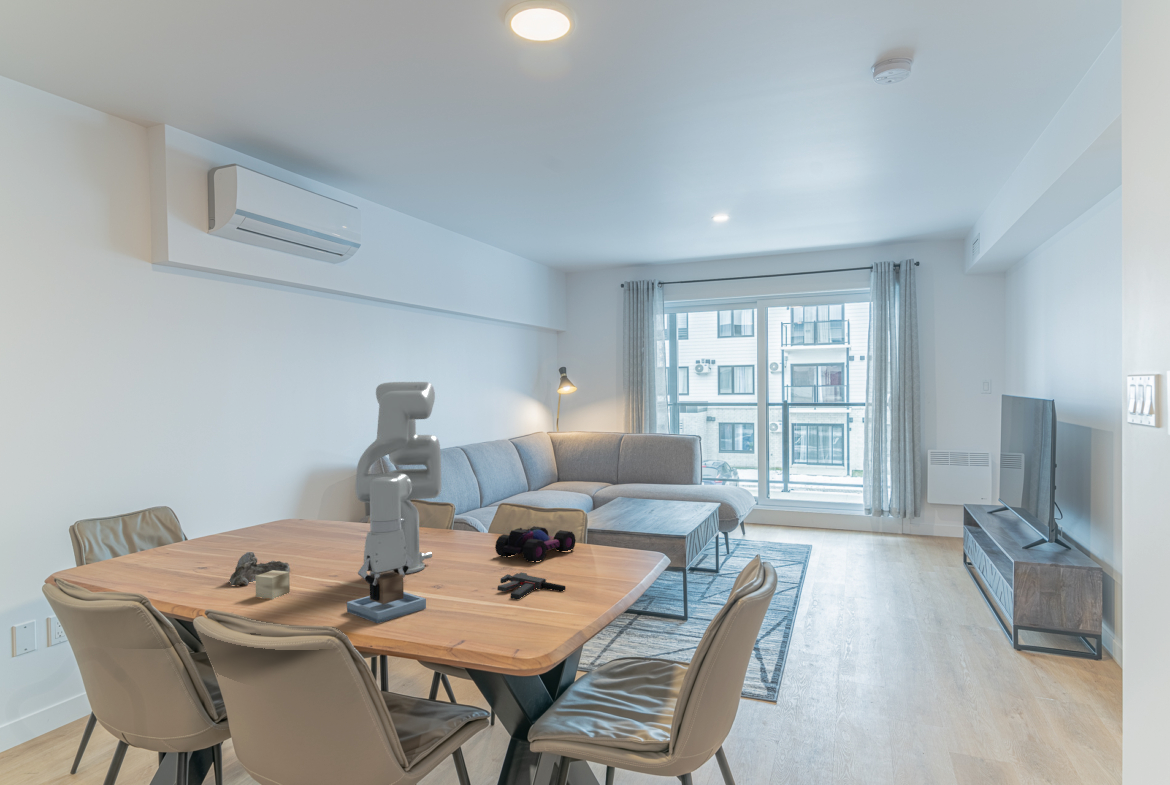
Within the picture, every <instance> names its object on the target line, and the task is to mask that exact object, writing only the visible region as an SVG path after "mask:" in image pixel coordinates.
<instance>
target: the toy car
mask: <svg viewBox="0 0 1170 785" xmlns="http://www.w3.org/2000/svg"><path fill="white" fill-rule="evenodd" d="M575 546H576V536H575V534H574V532H573V531H568V530H558V531H557V532H556V533H555V534H554V535H553V536H552V535H549V531H548V529H547V528H546V527H540V526H532V527H530V528H527V529H526V528H522V527H519V528H515V529H513V530H511V531H510V532H509V534H500V536H498V537H497V539H496V542H495V546H494V547H495V553H496V554H497V555H498V556H499V555H501V556H500V557H503V556H506V557H505V558H509V557H508V556H511V555H515V554H516V555H520V554H522V558H523V559H524V560H525V561H526V560H528V561H527V562H529V561H534V562H536V561H540V560H542V561H544V559H545V557H546V555H547V551H550V550H553V549H554V550H555V551H556V550H559V551H568V550H571V549H573V550H574V548H575ZM559 551H558V552H559ZM516 555H515V556H516ZM534 562H533V563H534Z"/></svg>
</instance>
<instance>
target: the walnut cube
mask: <svg viewBox="0 0 1170 785" xmlns="http://www.w3.org/2000/svg"><path fill="white" fill-rule="evenodd" d="M377 584H379V593H380V599H379V600H378V601H376V600H373V599H371V597H370V600H372V601H375V602H378V603H381V604H386V603H389V602H393V601H396V600H399V599H403V598H404V592H405V591H404V590H405V589H404V578H403V575H402V574H398V573H395V572H391V571H388V572H382V573H380V577H379V580H378V583H377Z"/></svg>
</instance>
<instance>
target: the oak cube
mask: <svg viewBox="0 0 1170 785" xmlns="http://www.w3.org/2000/svg"><path fill="white" fill-rule="evenodd" d="M290 582H291V581H290V572H285V571H275V570H272V571H269V572H266V573H263V574H260V575H257V576H256V582H255V598H256V597H262V598H261V599H265V598H270V599H269V600H275V599H277V598H276V597H278V598H280V597H283V596H285V595H284V594H286V595H288V594H290V593H289V592H291V591H290V590H291V589H290V588H291V587H290ZM287 593H288V594H287ZM282 595H283V596H282ZM279 596H280V597H279ZM274 598H275V599H274Z"/></svg>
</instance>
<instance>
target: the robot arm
mask: <svg viewBox="0 0 1170 785" xmlns="http://www.w3.org/2000/svg"><path fill="white" fill-rule="evenodd" d="M435 394H436V393H435V389H434V386H433V384H431V383H430V382H428V381H391V382H383V383H380V384H378V385H377V386H376V388H375V397H376V401H377V403H378V404H379V405H378V406H379V407H378V415H377V416H378V418H377V430H376V439H375V440H374V441H373V442H371V444H370V445H368V446H367V448H366V449H365V450H364V452H363V453H362V454H361V456H360V458H359V460H358V462H357V466H356V475H355V486H354V489H355V490H354V491H355V495H356V498H357V500H359V501H360V502H361V503H369V521H370V522H369V527H370V529H369V530H370V532H367V533H366V538H365V542H364V543H365V544H364V550H363V552H364V553H363V564H362V565H361V567H360V569H359V570H358V571H357V574H358V575H359V576H360V577H361V578H362V579H363V580H364V581H366V582H367V583H368V584H369V596H370V597H371V599H373V600H376V601H378V600H379V599H380V593H379V584H377V583H378V580H379V577H380V573H384V572H388V571H391V572H395V573H398V574H402V575H403V579H404V578H405V576H406V574H407V575H408V574H413V573H416V572H420V571H423V569H424V568H425V565H426V564H425V562H424V561H425V560H428V559H432V557H433V553H432V552H431V551H428V552H420V513H419V511H418V508H417V507H416V505H414V504H413V502H412V500H423V499H424V500H426V499H428V500H429V499H435V498H437V497H439V495H440V494H441V492H442V460H441V459H442V457H441V453H442V452H441V444H440V440H439V439H438V437H437V436H436V435H432V434H418V433H417V431H416V430H417V427H416V424H417V423H416V420H427V419H429V417H431V414H432V412H433V408H434V404H435V399H436V395H435ZM386 456H388V458H389V462H390V463H391V464H393V465H394V466H395V465H396V466H425V467H426V468H405V469H404V468H403V469H402V468H401V469H399V468H398V469H394V470H392V471H390V472H388V473H369V471H370V469H371V467H372V465H373V464H374V463H376V462H377V461H378V460H379V459H382V458H383V457H386ZM367 572H369V574H368V573H367Z"/></svg>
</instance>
